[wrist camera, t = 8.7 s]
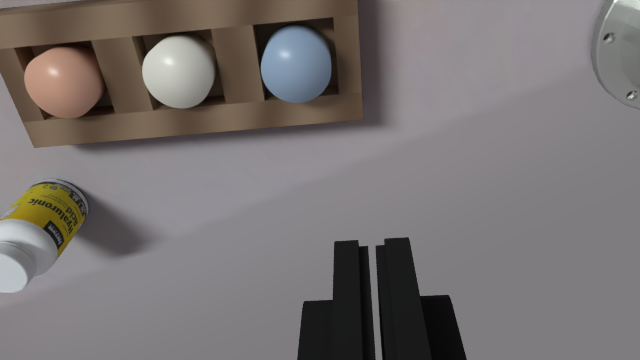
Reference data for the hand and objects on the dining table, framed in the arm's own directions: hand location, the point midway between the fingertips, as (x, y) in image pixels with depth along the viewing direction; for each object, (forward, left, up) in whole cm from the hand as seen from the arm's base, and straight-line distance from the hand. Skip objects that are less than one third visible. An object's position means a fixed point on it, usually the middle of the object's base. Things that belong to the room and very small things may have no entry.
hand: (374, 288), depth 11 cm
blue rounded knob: (+3, +2, -27) cm, 27 cm away
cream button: (+12, +2, -28) cm, 30 cm away
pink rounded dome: (+20, +2, -28) cm, 34 cm away
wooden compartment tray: (+12, +2, -29) cm, 31 cm away
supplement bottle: (+27, +14, -29) cm, 42 cm away
